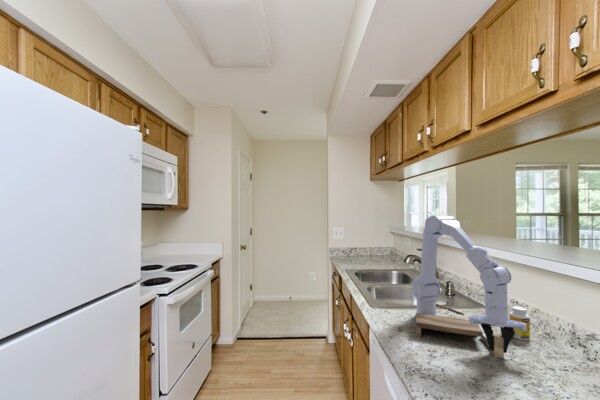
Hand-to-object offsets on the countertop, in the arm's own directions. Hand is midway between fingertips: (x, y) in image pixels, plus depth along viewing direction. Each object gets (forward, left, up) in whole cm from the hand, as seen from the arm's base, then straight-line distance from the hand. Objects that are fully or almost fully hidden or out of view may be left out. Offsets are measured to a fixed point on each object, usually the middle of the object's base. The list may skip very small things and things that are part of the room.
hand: (497, 350), depth 84 cm
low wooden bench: (-9, -13, -2) cm, 16 cm away
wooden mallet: (-5, 0, -2) cm, 6 cm away
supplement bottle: (-18, +11, -2) cm, 21 cm away
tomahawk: (-42, -12, -2) cm, 44 cm away
